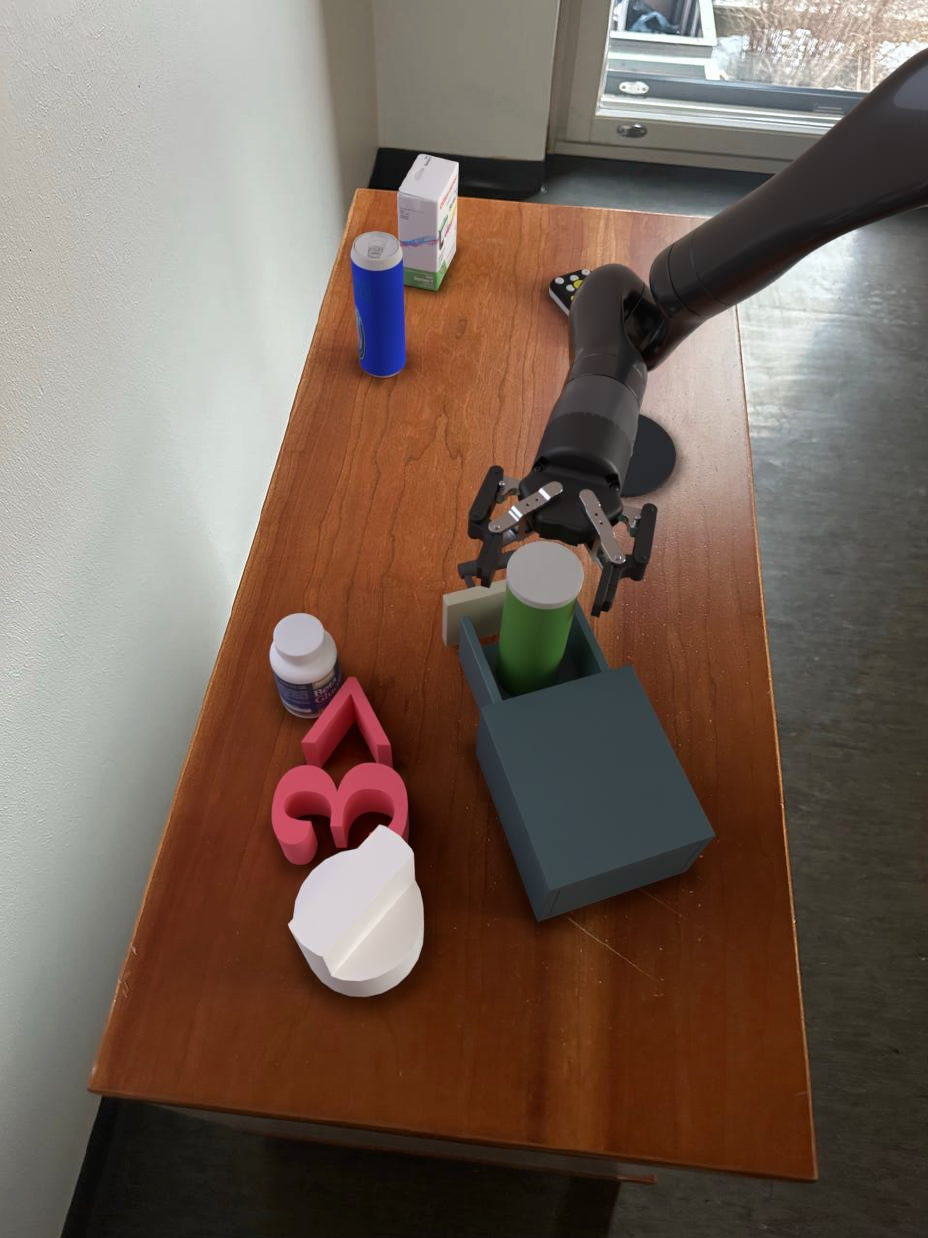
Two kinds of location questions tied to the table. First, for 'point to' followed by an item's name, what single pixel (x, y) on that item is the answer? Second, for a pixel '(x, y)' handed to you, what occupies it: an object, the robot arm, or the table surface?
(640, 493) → the mat
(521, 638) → the chip tube
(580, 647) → the drawer
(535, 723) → the cabinet
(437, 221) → the ink box
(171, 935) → the table surface
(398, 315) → the beverage can
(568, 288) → the remote control
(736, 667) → the table surface
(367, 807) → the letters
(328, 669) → the pill bottle
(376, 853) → the cylinder with rectangular tab
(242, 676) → the table surface
